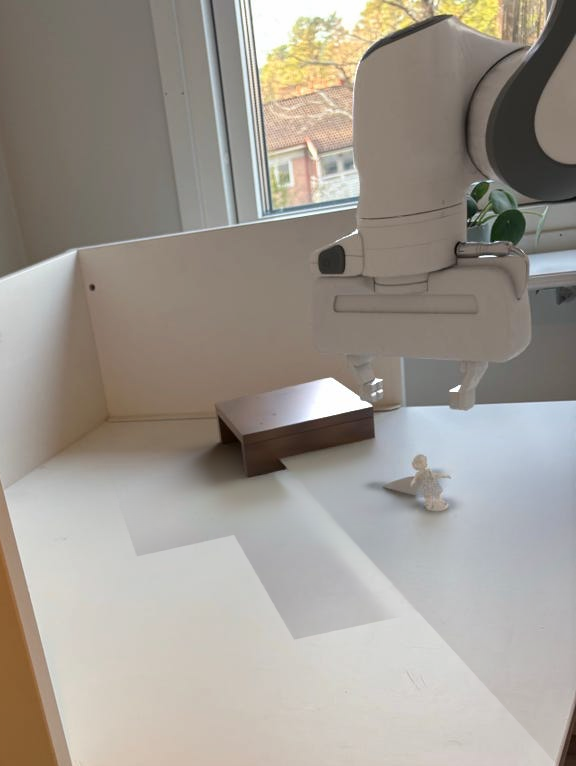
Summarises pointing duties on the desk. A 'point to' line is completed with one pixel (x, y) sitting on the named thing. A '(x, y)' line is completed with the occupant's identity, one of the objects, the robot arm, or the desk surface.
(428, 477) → the fairy figurine
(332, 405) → the display shelf
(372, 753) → the desk surface
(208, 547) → the desk surface
